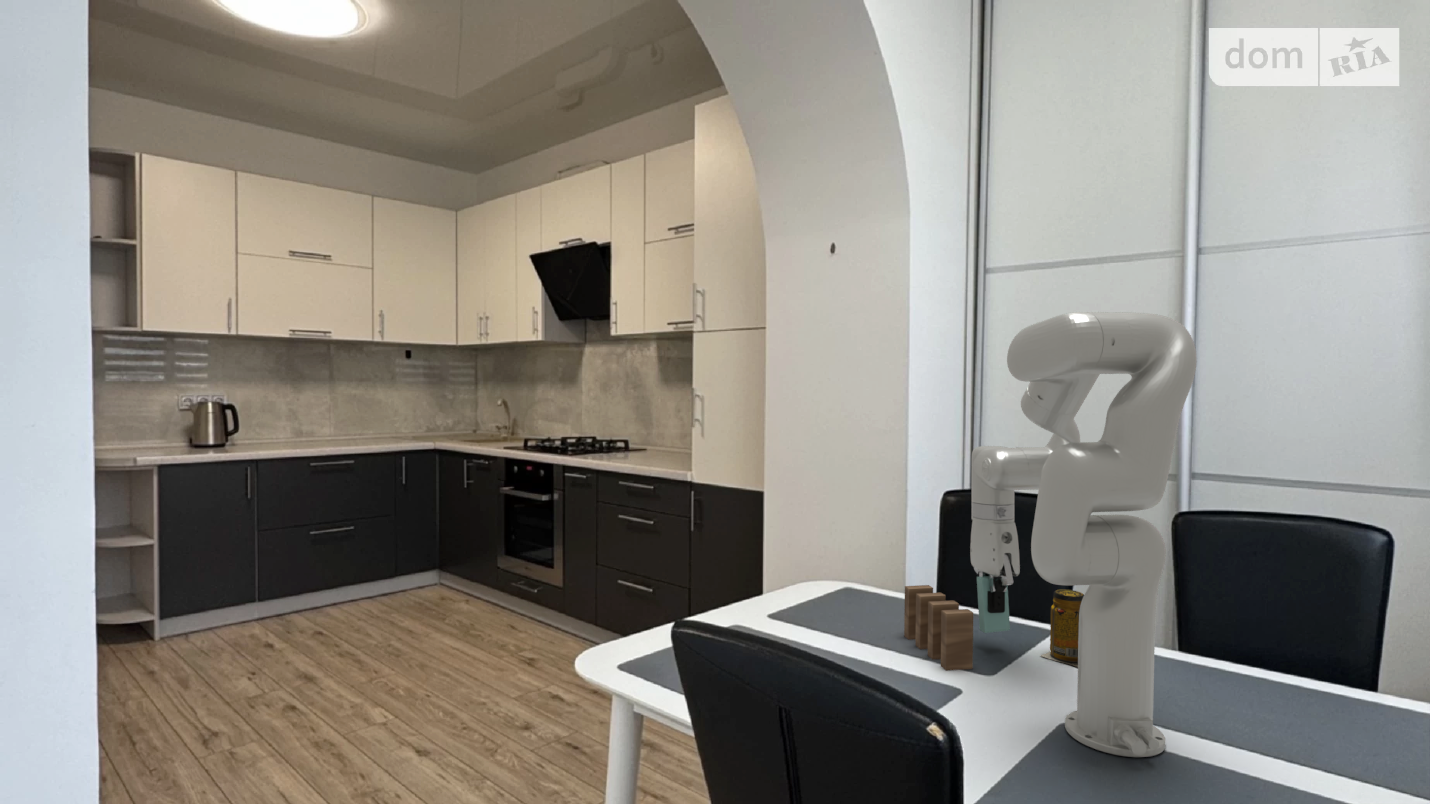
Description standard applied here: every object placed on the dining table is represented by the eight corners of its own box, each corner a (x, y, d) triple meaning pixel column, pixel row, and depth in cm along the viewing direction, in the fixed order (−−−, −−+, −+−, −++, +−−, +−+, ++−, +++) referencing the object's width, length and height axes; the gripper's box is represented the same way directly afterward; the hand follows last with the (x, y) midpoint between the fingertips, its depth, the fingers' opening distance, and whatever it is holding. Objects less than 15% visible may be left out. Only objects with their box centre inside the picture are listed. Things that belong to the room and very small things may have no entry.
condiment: (1059, 648, 142) (1060, 585, 141) (1105, 661, 135) (1106, 595, 135) (1039, 657, 137) (1041, 592, 137) (1086, 671, 130) (1088, 603, 130)
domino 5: (1010, 630, 139) (1007, 576, 139) (985, 633, 138) (982, 579, 138) (1004, 627, 141) (1001, 574, 141) (979, 630, 140) (976, 576, 140)
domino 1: (932, 638, 146) (933, 587, 146) (908, 639, 146) (909, 588, 145) (927, 634, 148) (928, 585, 148) (904, 636, 148) (904, 586, 147)
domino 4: (972, 668, 131) (973, 612, 131) (945, 670, 130) (946, 613, 130) (966, 664, 133) (967, 609, 133) (940, 666, 132) (941, 610, 132)
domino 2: (944, 647, 141) (945, 595, 141) (920, 649, 140) (920, 596, 140) (939, 644, 143) (940, 592, 143) (915, 645, 142) (916, 593, 142)
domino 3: (958, 657, 136) (958, 603, 136) (932, 659, 135) (933, 604, 135) (952, 653, 138) (953, 600, 138) (927, 655, 137) (928, 601, 137)
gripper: (1035, 518, 132) (1035, 622, 132) (989, 506, 148) (989, 599, 148) (996, 519, 131) (996, 624, 131) (953, 507, 147) (953, 600, 147)
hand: (992, 610), depth 140 cm, fingers closed on domino 5, 1 cm apart
